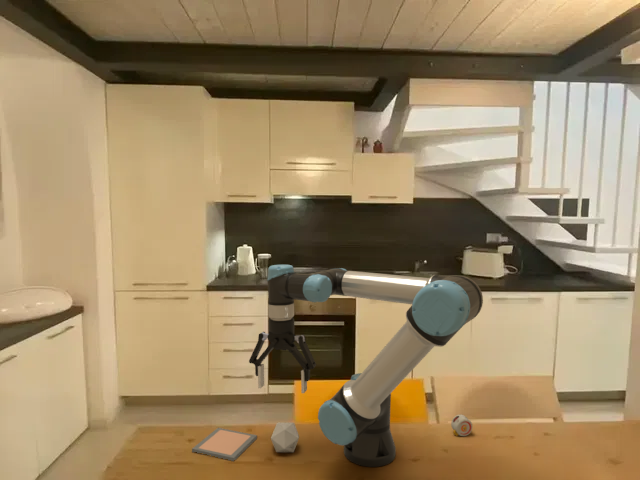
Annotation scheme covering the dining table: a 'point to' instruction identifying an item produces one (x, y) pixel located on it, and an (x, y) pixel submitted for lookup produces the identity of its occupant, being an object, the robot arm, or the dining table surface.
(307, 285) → the robot arm
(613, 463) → the dining table surface
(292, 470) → the dining table surface
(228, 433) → the base plate
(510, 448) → the dining table surface
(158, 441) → the dining table surface
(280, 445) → the die
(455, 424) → the roller toy
